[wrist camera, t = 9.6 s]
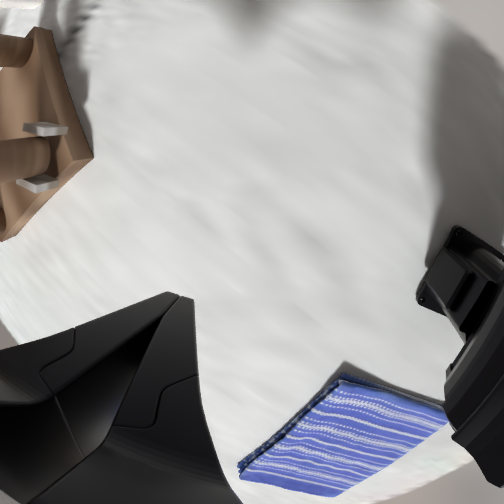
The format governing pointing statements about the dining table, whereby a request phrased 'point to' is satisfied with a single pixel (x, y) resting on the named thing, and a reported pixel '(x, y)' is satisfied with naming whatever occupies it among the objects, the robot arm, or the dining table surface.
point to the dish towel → (343, 438)
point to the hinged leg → (23, 158)
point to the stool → (36, 123)
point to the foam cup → (20, 4)
